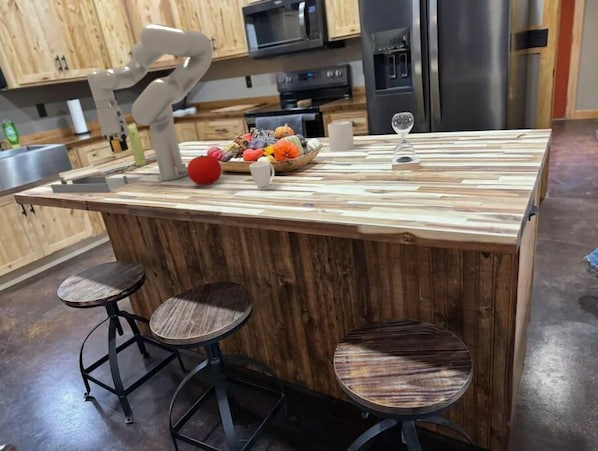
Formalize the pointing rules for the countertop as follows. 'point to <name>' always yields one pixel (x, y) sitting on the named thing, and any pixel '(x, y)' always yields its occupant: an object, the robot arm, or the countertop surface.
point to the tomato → (204, 169)
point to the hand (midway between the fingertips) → (120, 150)
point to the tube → (136, 145)
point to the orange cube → (116, 145)
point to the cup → (262, 174)
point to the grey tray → (93, 184)
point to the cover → (78, 174)
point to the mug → (341, 136)
